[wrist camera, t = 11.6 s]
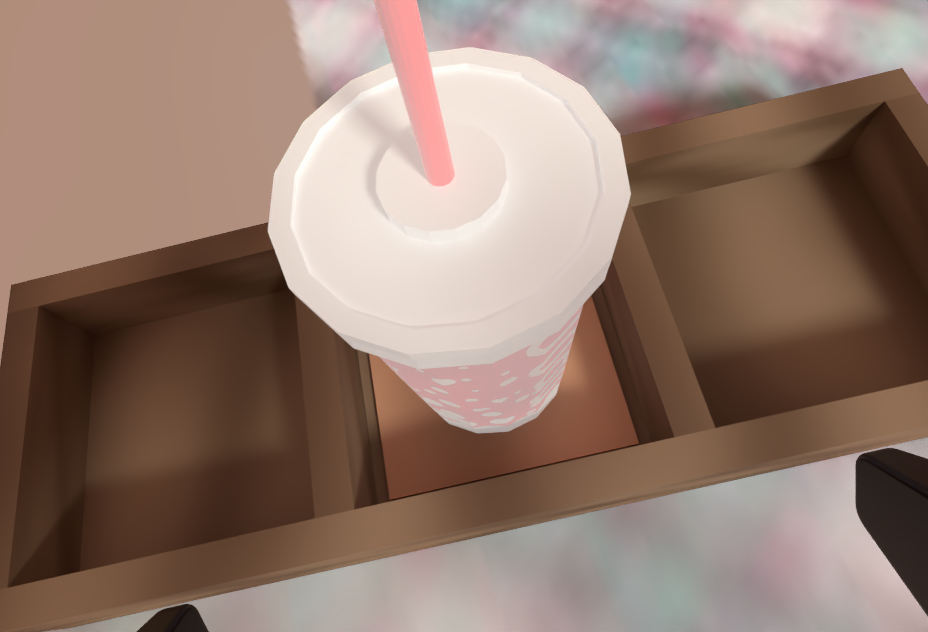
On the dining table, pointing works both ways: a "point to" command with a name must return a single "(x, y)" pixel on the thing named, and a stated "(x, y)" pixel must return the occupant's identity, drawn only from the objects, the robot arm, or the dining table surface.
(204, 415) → the wooden compartment tray
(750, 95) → the dining table surface
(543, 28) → the dining table surface
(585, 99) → the beverage cup
